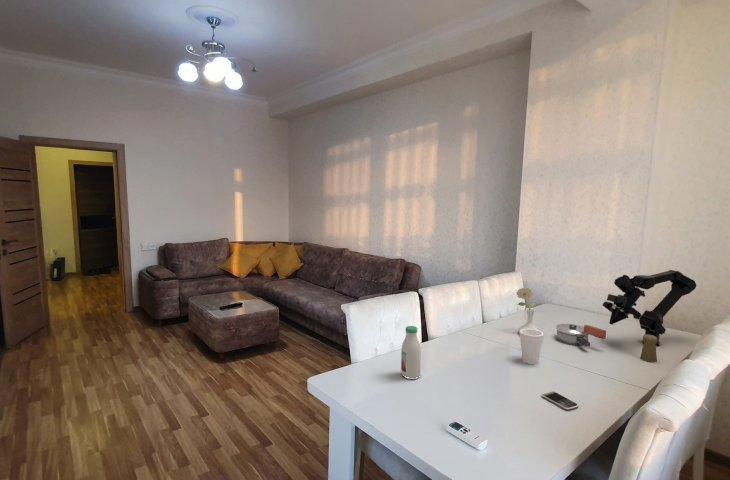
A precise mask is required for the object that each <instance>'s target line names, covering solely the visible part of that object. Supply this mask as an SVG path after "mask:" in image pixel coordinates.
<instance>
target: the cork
mask: <svg viewBox="0 0 730 480" xmlns="http://www.w3.org/2000/svg"><path fill="white" fill-rule="evenodd" d="M643 341H644V343H643V346H642V350H641V352H640V353H641V354H640V360H641V361H644V362H647V363H658V356H657V346H656V343H657V337H655V336H653V335H645V334H644V335H643V337H642V342H643Z"/></svg>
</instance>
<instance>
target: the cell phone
mask: <svg viewBox="0 0 730 480" xmlns="http://www.w3.org/2000/svg"><path fill="white" fill-rule="evenodd" d="M540 395H541V396H540V397H541V398H543V399H544V400H546V401H548V402H550V403H551V404H553V405H554V406H557V407H558V408H561V409H562V410H564V411H566V412H569V411H573V410H576V409H578V408H579V404H578V403H576V402H574V401H573V400H571V399H570V398H567V397H565V396H563V395H562V394H559V393H558V392H556V391H551V392H547V393H542V394H540Z"/></svg>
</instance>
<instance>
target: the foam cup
mask: <svg viewBox="0 0 730 480" xmlns="http://www.w3.org/2000/svg"><path fill="white" fill-rule="evenodd" d="M544 334H545V333H544V332H543V331H541V330H540V331H538V330H534V329H522V330H520V333H519V338H520V350H521V358H522V361H523V362H524V363H526V364H529V365H537V364H538V363H539V361H540V356H541V351H542V345H543V342H544V336H545V335H544Z"/></svg>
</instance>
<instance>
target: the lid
mask: <svg viewBox="0 0 730 480" xmlns="http://www.w3.org/2000/svg"><path fill="white" fill-rule="evenodd" d="M555 328H556V331H557V330H558V331H560V332H562V333H566V334H570V335H578V336H583V335H588V334H589V336H593V337H595V338H598V339H600V340H601V339H602V340H605V339H607V330H605V329H602V328H599V327H595V326H593V325H589V324H584V325H583V326H582V325H578V324H573V323H560V324H557V325H556V327H555Z"/></svg>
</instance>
